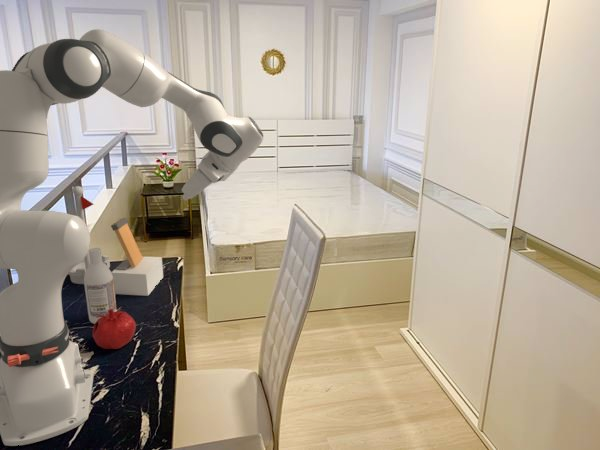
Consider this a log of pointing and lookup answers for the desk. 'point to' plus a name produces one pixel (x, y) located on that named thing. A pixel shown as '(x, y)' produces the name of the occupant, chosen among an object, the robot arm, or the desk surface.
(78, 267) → the flag stand
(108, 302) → the bath foam
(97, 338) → the pomegranate
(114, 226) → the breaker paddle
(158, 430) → the desk surface
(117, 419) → the desk surface
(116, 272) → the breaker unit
